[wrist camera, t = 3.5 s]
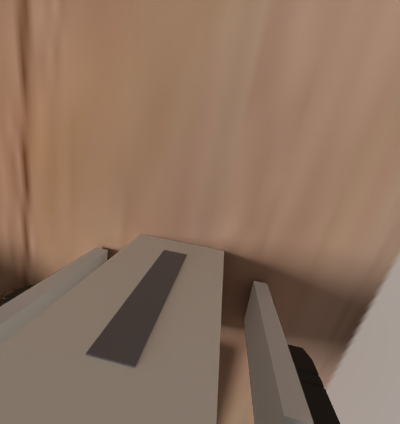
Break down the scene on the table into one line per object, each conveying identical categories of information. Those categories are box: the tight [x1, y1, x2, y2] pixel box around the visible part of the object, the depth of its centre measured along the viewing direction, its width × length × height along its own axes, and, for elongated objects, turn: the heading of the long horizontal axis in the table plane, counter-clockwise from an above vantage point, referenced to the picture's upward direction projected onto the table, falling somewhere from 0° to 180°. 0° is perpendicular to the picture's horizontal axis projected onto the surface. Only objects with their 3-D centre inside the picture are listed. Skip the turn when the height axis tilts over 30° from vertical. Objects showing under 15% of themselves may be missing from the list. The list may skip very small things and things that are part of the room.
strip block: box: [0, 234, 224, 424], centre depth 8 cm, size 5×5×10 cm
